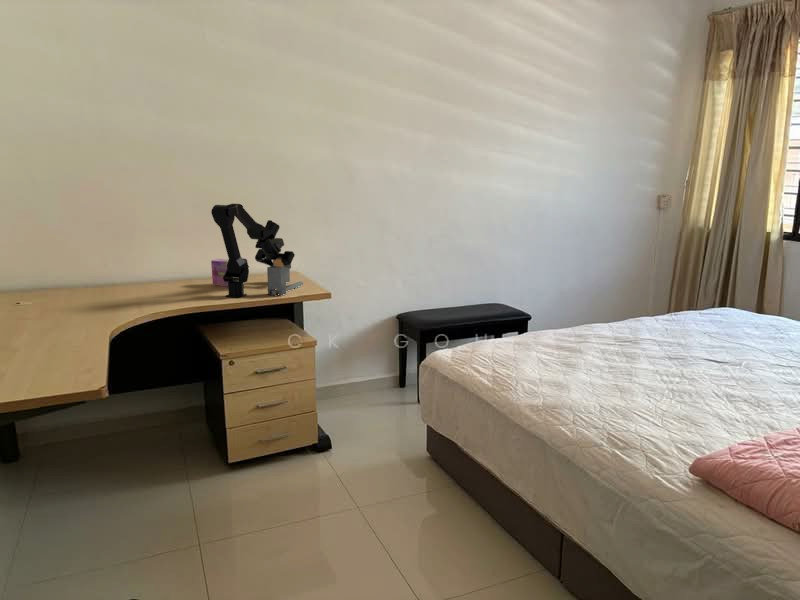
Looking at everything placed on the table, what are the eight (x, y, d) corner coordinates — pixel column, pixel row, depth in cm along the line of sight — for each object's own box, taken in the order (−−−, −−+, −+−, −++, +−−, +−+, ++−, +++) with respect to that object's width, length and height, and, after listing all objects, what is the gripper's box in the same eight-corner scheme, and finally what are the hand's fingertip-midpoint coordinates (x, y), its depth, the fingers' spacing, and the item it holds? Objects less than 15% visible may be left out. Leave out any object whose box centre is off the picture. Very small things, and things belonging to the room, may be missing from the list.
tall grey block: (281, 296, 255) (280, 268, 252) (268, 295, 257) (267, 267, 254) (286, 294, 259) (285, 266, 256) (273, 293, 261) (272, 265, 258)
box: (212, 285, 274) (210, 260, 272) (219, 283, 280) (218, 258, 277) (232, 287, 271) (230, 261, 269) (239, 285, 277) (237, 259, 274)
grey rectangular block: (285, 284, 281) (284, 258, 278) (273, 283, 283) (272, 257, 280) (289, 282, 285) (289, 257, 282) (278, 281, 287) (277, 256, 284)
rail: (276, 296, 255) (275, 291, 254) (271, 295, 256) (271, 291, 255) (303, 286, 277) (303, 281, 277) (299, 285, 278) (299, 281, 277)
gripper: (292, 234, 271) (305, 254, 283) (257, 231, 278) (271, 252, 290) (282, 253, 266) (296, 274, 278) (247, 250, 272) (263, 270, 285)
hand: (282, 267), depth 283 cm, fingers open, 9 cm apart
